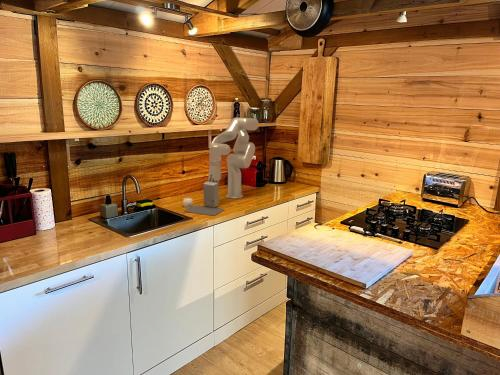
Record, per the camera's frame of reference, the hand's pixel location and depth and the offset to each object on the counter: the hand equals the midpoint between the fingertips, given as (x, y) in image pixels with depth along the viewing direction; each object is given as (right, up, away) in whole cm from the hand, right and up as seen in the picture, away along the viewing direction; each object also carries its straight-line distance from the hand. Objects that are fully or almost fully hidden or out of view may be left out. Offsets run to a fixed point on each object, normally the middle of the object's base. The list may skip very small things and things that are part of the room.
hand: (215, 190), depth 257 cm
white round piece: (-18, -10, -2) cm, 21 cm away
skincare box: (-2, -10, -2) cm, 10 cm away
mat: (-6, -13, -12) cm, 18 cm away
